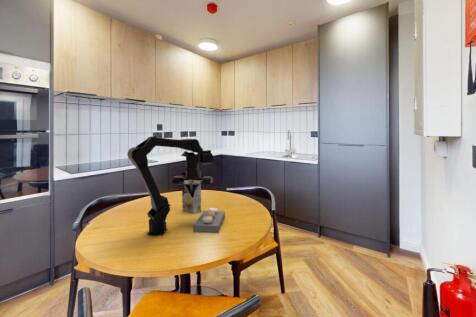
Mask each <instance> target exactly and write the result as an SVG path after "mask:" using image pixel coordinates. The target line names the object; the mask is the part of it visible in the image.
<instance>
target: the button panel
mask: <svg viewBox="0 0 476 317" xmlns="http://www.w3.org/2000/svg"><path fill="white" fill-rule="evenodd" d="M206 212H209V210H203V211H202V213H201V214H200V216H199V217H198V219H197V220H196V222H195V223H194V224H193V232H194V233H208V234H211V233H212V234H219V232H220V230H221V227H222V225H223V223H224V220H225V218H226V214H225V212H226V211H222V210H221V211H220V210H217V213H215V217H214V218H212V222H211V223H203V217H205V216H206Z"/></svg>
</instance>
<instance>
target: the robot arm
mask: <svg viewBox="0 0 476 317" xmlns="http://www.w3.org/2000/svg"><path fill="white" fill-rule="evenodd" d="M155 147H166V148H167V147H168V148H178V149H181V150H184V151H183V153H182V154H181V155H180V156H181V157H184V158H185V169H184V170H185V174H186V175H185V177H184V175H175V176H173V177H171V184H172V185H174V184H175V185H176V184H179V183H180V182H182V183H184V186H186V187H187V189H188V191H189V193H190V195H191V197H192V198H194V195H195V192H196V189H197V187H198V186H199V185H200V184H201V185H202V184H203V185H211V184H212V183H213V182H214V178H213V176H212V175H210V176H209V175H208V176H207V175H206V176H203V177H202V171H201V170H200V168H199V164H200V165H208V164H209V165H211V164H213V162H214V155H213V153H212V150H210V149H207V150H204V149H203V148H202V146H201V143H200V142H199V140H198V139H196V138H184V139H183V138H181V139H173V138H166V137H157V136H149V137H147V138H145V139H144V141H142V142H140V143H139V144H137V145H136V146H134V147H131V148H129V150H128V151H127V153H126V154H127V158H128V159H129V160H130V162H131V163H132V165H134V167H135V168H136V170H137V171H138V173H139V175H140V178H141V180H142V182H143V184H144V187H145V188H146V191H147V193H148V195H149V198H150V205H151V208H150V209H149V211H148V212H147V213H146V215H147V217H148V218H149V219H148V232H147V236H163V235H164V233H166V231H167V230H168V229H167V228H168V227H167V217H168V215H169V213H170V212H171V208H170V207H171V204H170V203H169V199H168V197H166V196H164V195H161V192H160V191H159V188H158V186H157V184H156V182H155V179H154V177H153V174H152V172H151V170H150V168H149V161H148V155H149V154H150V153H151V152H152V150H154V148H155ZM188 151H189V152H188ZM193 182H194V184H193Z"/></svg>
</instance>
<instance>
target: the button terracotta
mask: <svg viewBox="0 0 476 317" xmlns="http://www.w3.org/2000/svg"><path fill="white" fill-rule="evenodd" d="M206 216H211V217H212V218H214V217H215V212H206Z"/></svg>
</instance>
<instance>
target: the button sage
mask: <svg viewBox="0 0 476 317" xmlns="http://www.w3.org/2000/svg"><path fill="white" fill-rule="evenodd" d="M211 222H212V217H211V216H205V217H203V223H211Z"/></svg>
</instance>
